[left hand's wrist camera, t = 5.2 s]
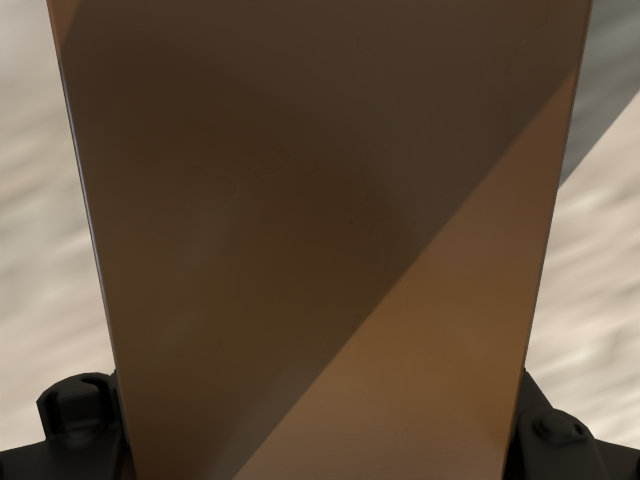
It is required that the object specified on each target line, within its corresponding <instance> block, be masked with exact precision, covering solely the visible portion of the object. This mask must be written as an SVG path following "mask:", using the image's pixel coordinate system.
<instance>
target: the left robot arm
mask: <svg viewBox="0 0 640 480" xmlns="http://www.w3.org/2000/svg"><path fill="white" fill-rule="evenodd" d="M36 403H37V407H38V411H39V414H40V418H41V422H42V425H43V429H44V433H45V436H46V439H45V441H42V442H38V443H35V444H31V445H27V446H23V447H18V448H14V449H10V450H5V451H1V452H0V480H137V478H136V473H135V468H134V462H133V457H132V452H131V446H130V441H129V436H128V431H127V425H126V420H125V415H124V409H123V404H122V399H121V393H120V388H119V383H118V378H117V372H116V369H115V370H114V373H112V374H111V376H109V375H107V374H103V373H98V372H95V373H82V374H79V375H75V376H71V377H68V378H66V379H64V380H61V381H59V382H57V383H55V384H54V385H52V386H51V387H50V388H48V389H47V390H45V391H44V392H43V393H42V395H41V396H40V397H39V399H38V400H37V401H36ZM503 480H640V450H638V449H634V448H630V447H625V446H621V445H617V444H612V443H608V442H604V441H601V440H598V439H595V438H594V437H593V435H592V433H591V432H590V430H589V429H588V427H587V426H585V425H584V424H583V423H582V422H581V421H579V420H578V419H577V418H575V417H573V416H572V415H570V414H568V413H566V412H564V411H561V410H558V409H554V408H553V407H552V406H551V404H550V403H549V401H548V400H547V398H546V397H545V396H544V394H543V393H542V391H541V390H540V388H539V387H538V386H537V384H536V383H535V381H534V380H533V378H532V377H531V376H530V374H529V373H528V372H526V368H525V367H524V370H523V376H522V381H521V386H520V392H519V397H518V402H517V408H516V413H515V418H514V423H513V429H512V434H511V439H510V445H509V450H508V455H507V461H506V466H505V471H504V477H503Z"/></svg>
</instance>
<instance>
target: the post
mask: <svg viewBox="0 0 640 480" xmlns="http://www.w3.org/2000/svg"><path fill="white" fill-rule="evenodd" d="M46 1H47V6H48V12H49V17H50V22H51V28H52V33H53V38H54V43H55V49H56V54H57V59H58V65H59V70H60V75H61V81H62V86H63V91H64V96H65V102H66V107H67V112H68V118H69V123H70V128H71V134H72V139H73V144H74V150H75V155H76V160H77V165H78V171H79V176H80V181H81V187H82V192H83V197H84V203H85V208H86V213H87V218H88V224H89V229H90V234H91V240H92V245H93V250H94V256H95V261H96V266H97V271H98V277H99V282H100V287H101V293H102V298H103V303H104V309H105V314H106V319H107V325H108V330H109V335H110V340H111V346H112V351H113V356H114V362H115V367H116V372H117V378H118V383H119V388H120V393H121V399H122V404H123V409H124V415H125V420H126V425H127V431H128V436H129V441H130V446H131V452H132V457H133V462H134V468H135V473H136V478H137V480H503V477H504V471H505V466H506V461H507V455H508V450H509V445H510V439H511V434H512V429H513V423H514V418H515V413H516V408H517V402H518V397H519V392H520V386H521V381H522V376H523V370H524V365H525V360H526V355H527V349H528V344H529V339H530V333H531V328H532V323H533V317H534V312H535V307H536V302H537V296H538V291H539V286H540V280H541V275H542V270H543V264H544V259H545V254H546V249H547V243H548V238H549V233H550V227H551V222H552V217H553V211H554V206H555V201H556V196H557V190H558V185H559V180H560V174H561V169H562V164H563V158H564V153H565V148H566V143H567V137H568V132H569V127H570V121H571V116H572V111H573V105H574V100H575V95H576V89H577V84H578V79H579V74H580V68H581V63H582V58H583V52H584V47H585V42H586V36H587V31H588V26H589V21H590V15H591V10H592V5H593V0H46Z"/></svg>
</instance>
